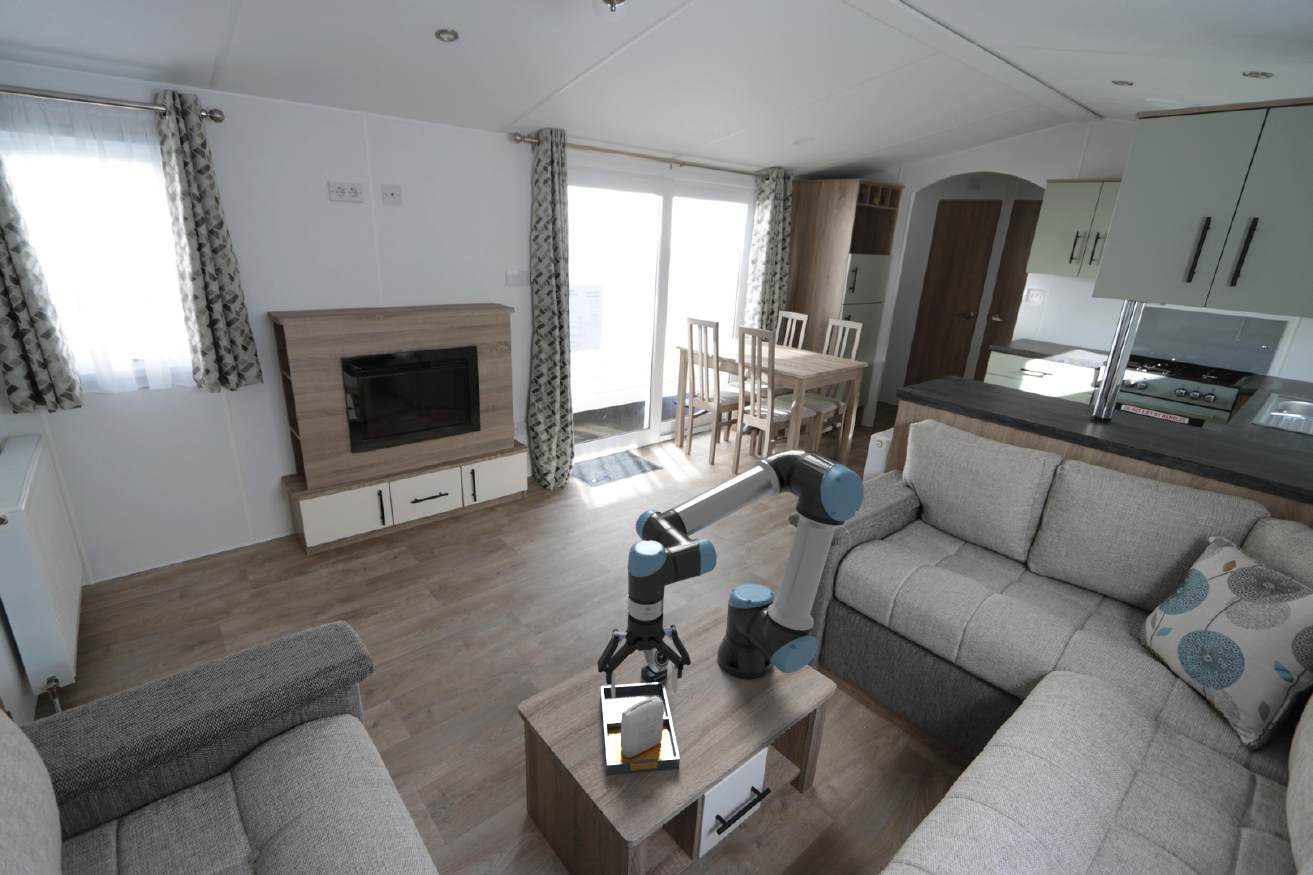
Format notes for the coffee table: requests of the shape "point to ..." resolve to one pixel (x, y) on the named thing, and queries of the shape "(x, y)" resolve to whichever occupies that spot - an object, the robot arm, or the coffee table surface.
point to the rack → (612, 709)
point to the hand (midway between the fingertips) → (643, 691)
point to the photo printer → (641, 726)
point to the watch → (654, 666)
